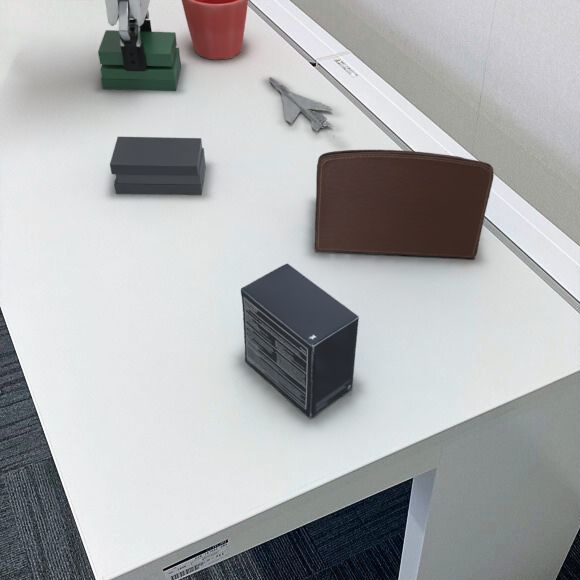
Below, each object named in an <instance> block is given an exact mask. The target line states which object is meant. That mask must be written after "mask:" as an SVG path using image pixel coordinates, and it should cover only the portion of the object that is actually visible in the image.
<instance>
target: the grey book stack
mask: <svg viewBox="0 0 580 580" xmlns="http://www.w3.org/2000/svg"><path fill="white" fill-rule="evenodd" d="M115 141H116V142H115V144H114V147H113V148H114V149H113V152H112V155H111V159H110V163H109V168H110V172H111V175H114V176H115V179H114V182H113V187H114V191H115V194H116V195H167V196H168V195H169V196H170V195H171V196H173V195H175V196H176V195H177V196H178V195H179V196H183V195H184V196H188V195H189V196H202V195H203V189H204V182H205V176H206V169H207V168H206V167H207V166H206V165H207V164H206V156H205V148H204V147H203V143H202V141H203V140H202V137H162V136H161V137H159V136H156V137H155V136H153V137H152V136H117V137H116V140H115Z"/></svg>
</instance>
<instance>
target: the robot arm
mask: <svg viewBox="0 0 580 580" xmlns="http://www.w3.org/2000/svg"><path fill="white" fill-rule="evenodd" d="M150 1H151V0H104V2H105V4H104V5H105V11H106V17H107V23H108V24H109V25H110V26H111V27H114V26H116V25H117V23H118V31H119V34H120V46H121V51H122V57H123V63H124V69H125V70H126V71H146V69H147V66H146V59H145V52H144V45H143V44H141V36H140V31H147V32H153V31H152V24H151V19H150V12H149V6H150ZM131 31H135V35H134V34H133V33H131Z"/></svg>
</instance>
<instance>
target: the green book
mask: <svg viewBox="0 0 580 580" xmlns="http://www.w3.org/2000/svg"><path fill="white" fill-rule="evenodd" d="M131 33H133V34H134V35H135V31H131ZM140 36H141V44H143V45H144V52H145V59H146V66H171V67H172V64H173V59H174V55H175V50H176V48H177V46H178V42H177V35H176V32H175V31H152V32H147V31H140ZM97 54H98V59H99V64H100V65H101V66H102V65H124V63H123V57H122V51H121V46H120V34H119V30H112V29H111V30H110V29H106V30H105V32H104V34H103V37H102V40H101V42H100V45H99V47H98V50H97Z"/></svg>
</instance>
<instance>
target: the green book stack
mask: <svg viewBox="0 0 580 580" xmlns="http://www.w3.org/2000/svg"><path fill="white" fill-rule="evenodd" d="M181 69H182V60H181V54H180V47H176V50H175V55H174V59H173V64H172V67H171V66H147V69H146V71H126V70H125V69H124V65H102V64H101V66H100V74H101V78H100V81H101V82H100V83H101V88H102V90H132V91H134V90H135V91H174V92H176V91H177V89H178V83H179V80H180V74H181Z"/></svg>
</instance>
